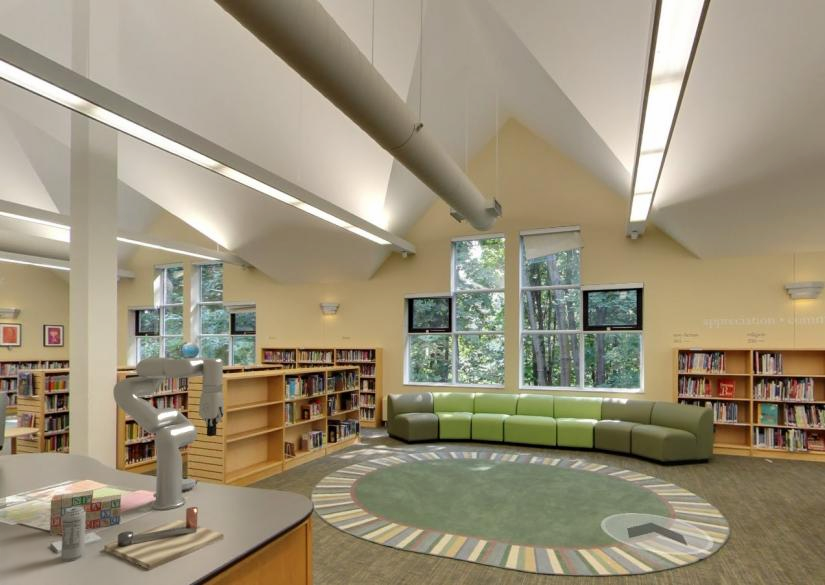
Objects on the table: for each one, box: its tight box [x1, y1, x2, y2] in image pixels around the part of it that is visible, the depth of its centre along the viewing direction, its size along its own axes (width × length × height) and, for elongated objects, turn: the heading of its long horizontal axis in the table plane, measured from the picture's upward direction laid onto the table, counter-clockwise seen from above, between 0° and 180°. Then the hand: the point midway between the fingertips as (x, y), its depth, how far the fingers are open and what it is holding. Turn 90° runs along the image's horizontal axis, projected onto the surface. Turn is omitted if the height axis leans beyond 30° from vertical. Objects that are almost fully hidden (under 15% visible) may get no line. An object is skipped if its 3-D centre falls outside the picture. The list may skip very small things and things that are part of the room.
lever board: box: [103, 519, 225, 571], centre depth 169 cm, size 26×26×2 cm
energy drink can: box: [61, 506, 86, 562], centre depth 160 cm, size 6×6×15 cm
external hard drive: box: [50, 531, 102, 554], centre depth 170 cm, size 2×8×12 cm
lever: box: [117, 506, 198, 546], centre depth 171 cm, size 24×4×8 cm, turn 119°
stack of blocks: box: [49, 489, 122, 536], centre depth 185 cm, size 21×6×12 cm, turn 117°
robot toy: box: [182, 477, 201, 491], centre depth 228 cm, size 12×4×15 cm
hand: (211, 435), depth 203 cm, fingers closed
